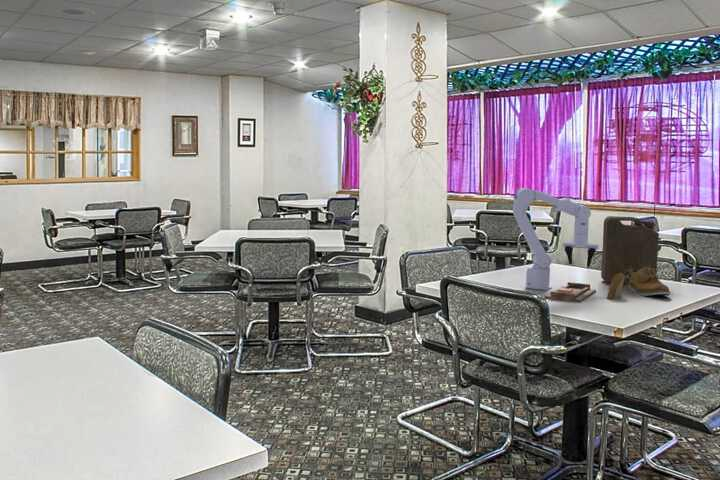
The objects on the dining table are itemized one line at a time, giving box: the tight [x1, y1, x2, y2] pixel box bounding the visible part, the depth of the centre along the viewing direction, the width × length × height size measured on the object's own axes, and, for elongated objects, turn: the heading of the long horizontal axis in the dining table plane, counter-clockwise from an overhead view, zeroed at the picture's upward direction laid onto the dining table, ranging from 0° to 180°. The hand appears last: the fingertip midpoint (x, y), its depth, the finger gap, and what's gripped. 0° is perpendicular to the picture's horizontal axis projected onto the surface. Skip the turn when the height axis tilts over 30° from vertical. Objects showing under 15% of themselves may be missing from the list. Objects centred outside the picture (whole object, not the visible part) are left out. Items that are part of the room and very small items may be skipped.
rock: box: [606, 273, 625, 300], centre depth 269 cm, size 11×9×10 cm
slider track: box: [544, 281, 597, 303], centre depth 272 cm, size 14×26×3 cm, turn 148°
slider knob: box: [557, 287, 573, 293], centre depth 264 cm, size 5×4×2 cm
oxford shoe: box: [627, 266, 671, 297], centre depth 278 cm, size 28×10×11 cm, turn 2°
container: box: [600, 215, 660, 285], centre depth 300 cm, size 22×10×30 cm, turn 81°
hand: (579, 264), depth 285 cm, fingers open, 7 cm apart
